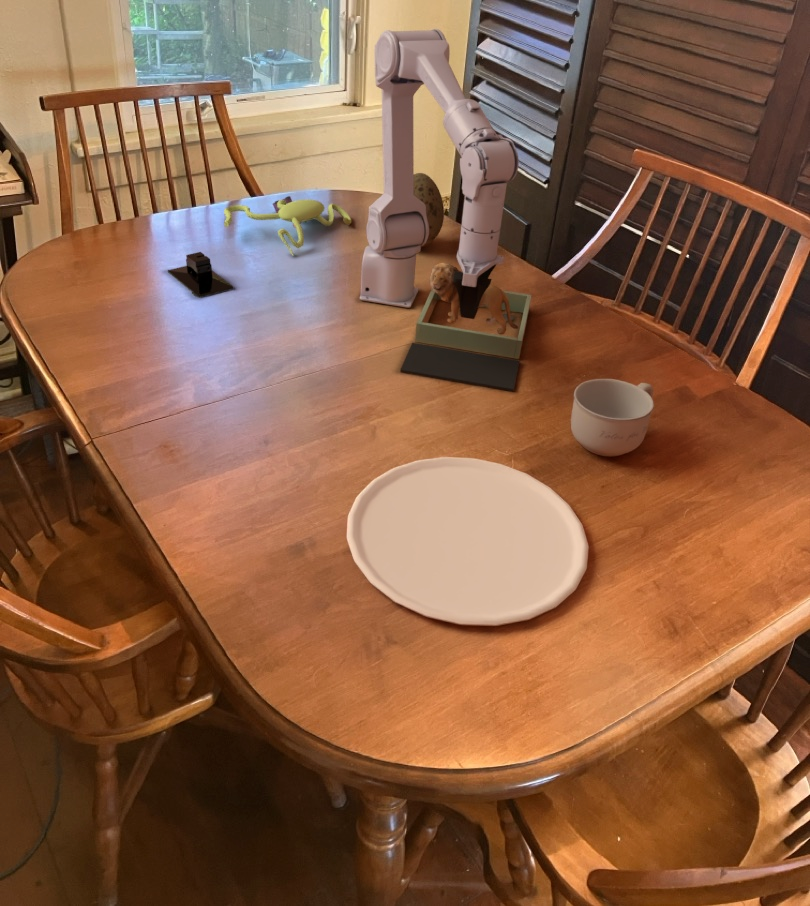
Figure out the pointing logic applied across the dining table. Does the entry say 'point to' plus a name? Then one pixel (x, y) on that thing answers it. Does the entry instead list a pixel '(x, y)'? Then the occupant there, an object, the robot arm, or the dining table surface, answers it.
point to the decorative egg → (430, 203)
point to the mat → (461, 366)
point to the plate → (467, 541)
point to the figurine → (292, 215)
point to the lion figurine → (448, 293)
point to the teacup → (611, 415)
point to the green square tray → (471, 338)
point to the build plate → (200, 276)
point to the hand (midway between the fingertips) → (470, 310)
